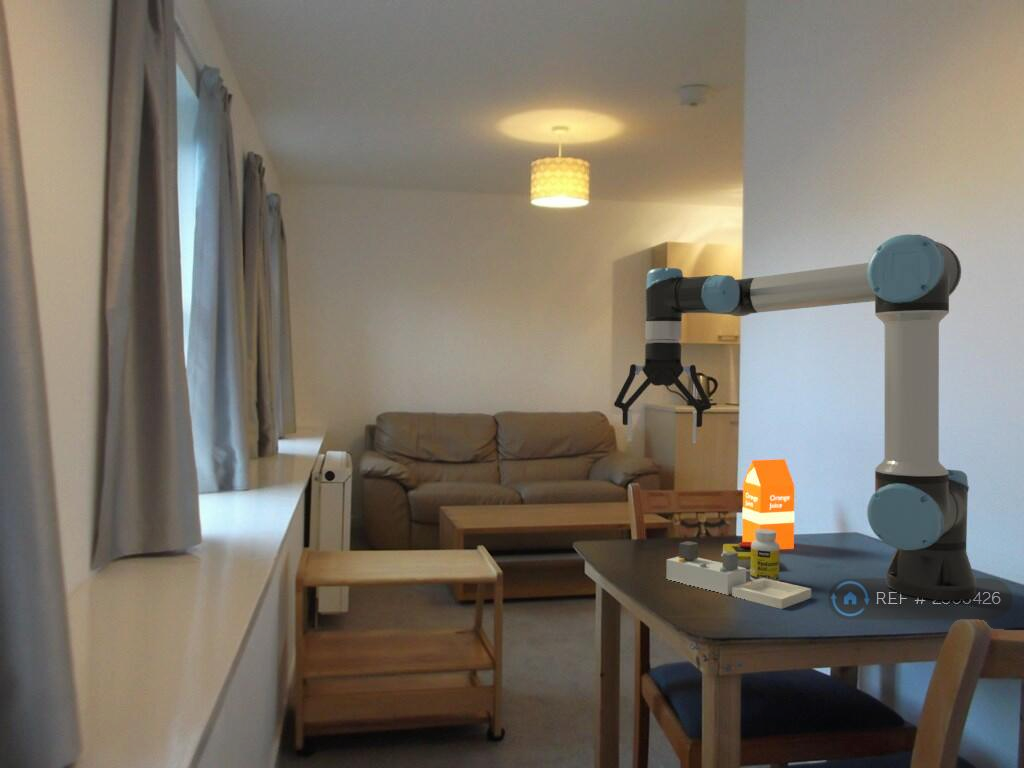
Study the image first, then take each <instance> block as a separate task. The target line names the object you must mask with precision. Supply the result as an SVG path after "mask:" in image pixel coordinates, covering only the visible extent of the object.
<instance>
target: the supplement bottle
mask: <svg viewBox="0 0 1024 768" xmlns="http://www.w3.org/2000/svg"><path fill="white" fill-rule="evenodd" d="M755 538H756V540H755V541H753V542H752V543H751V568H750V572H749V573H750V576H749V578H750V580H751V581H754V580H757V579H760V578H766V579H771V580H775V581H779V582H780V580H779V579H780V554H781V553H780V550H781V549H780V546H779V544H778V543H776V542H775V540H776V531H773V530H768V529H757V530H755Z"/></svg>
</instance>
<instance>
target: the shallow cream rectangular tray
mask: <svg viewBox="0 0 1024 768" xmlns="http://www.w3.org/2000/svg"><path fill="white" fill-rule="evenodd" d="M732 596H734V597H733V598H736V597H737V599H740V598H741V599H740V600H744V599H745V600H744V601H749V602H752V603H756V604H761V605H764V606H768V607H772V608H776V609H781V610H782V609H785V608H788V607H791V606H794V605H796V604H799V603H802V602H805V601H806V600H810V599H812V588H809V587H806V586H800V585H796V584H793V583H789V582H782V581H780V580H779V581H775V580H771V579H766V578H760V579H757V580H754V581H752V580H751V581H746V583H744V584H741V585H738V586H735V587H732V594H731V597H732Z"/></svg>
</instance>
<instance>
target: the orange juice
mask: <svg viewBox="0 0 1024 768" xmlns="http://www.w3.org/2000/svg"><path fill="white" fill-rule="evenodd" d="M795 488H796V487H795V484H794V480H793V477H792V475H791V472H790V469H789V467H788V463H787V461H786V458H785V459H784V458H780V459H779V458H778V459H755V460H753V459H752V461H751V463H750V465H749V467H748V470H747V472H746V475H745V477H744V479H743V482H742V541H741V542H753V541H755V540H756V538H755V530H757V529H768V530H773V531H776V540H775V542H776V543H778V544H779V546H780V550H794V548H795V545H794V543H795V490H796V489H795Z"/></svg>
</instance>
